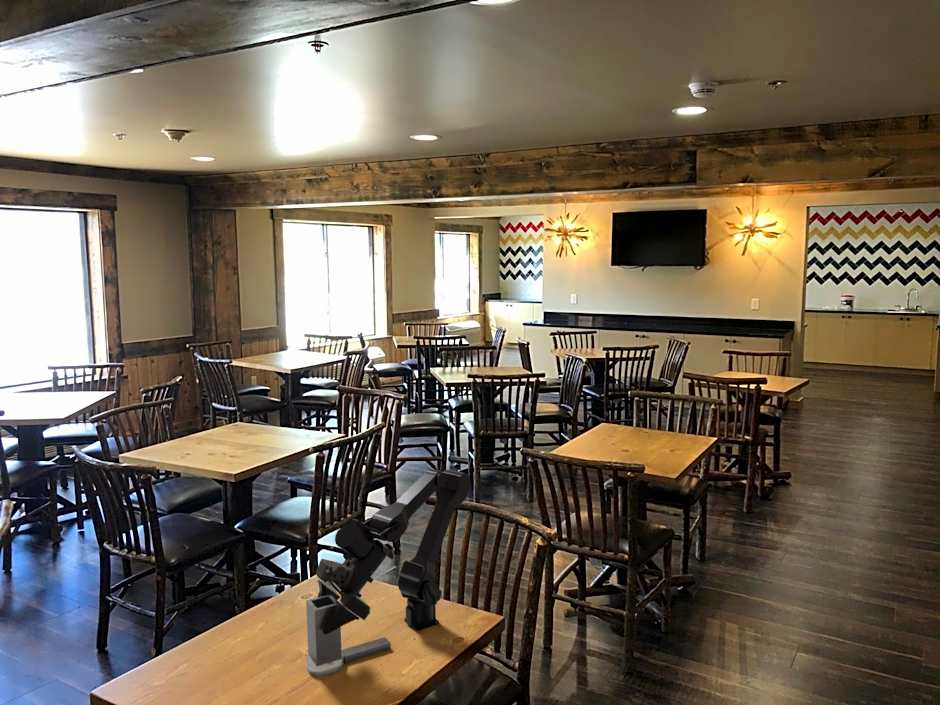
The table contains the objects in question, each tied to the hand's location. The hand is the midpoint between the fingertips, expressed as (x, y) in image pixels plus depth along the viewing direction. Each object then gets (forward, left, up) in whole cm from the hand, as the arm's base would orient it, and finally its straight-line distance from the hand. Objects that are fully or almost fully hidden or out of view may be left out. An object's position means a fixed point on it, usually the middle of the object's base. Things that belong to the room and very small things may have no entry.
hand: (317, 625), depth 153 cm
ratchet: (-7, 0, -10) cm, 12 cm away
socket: (-1, 0, -8) cm, 8 cm away
